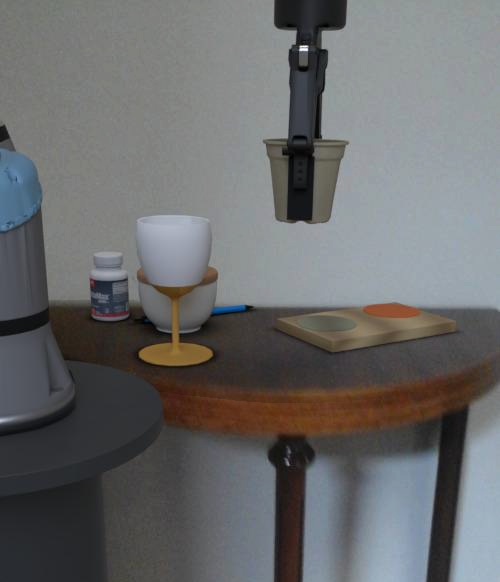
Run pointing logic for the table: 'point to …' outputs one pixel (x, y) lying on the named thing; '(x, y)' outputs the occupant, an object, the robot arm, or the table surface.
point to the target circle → (391, 310)
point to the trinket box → (179, 303)
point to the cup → (174, 275)
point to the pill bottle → (109, 287)
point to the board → (361, 328)
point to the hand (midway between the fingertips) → (303, 213)
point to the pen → (215, 311)
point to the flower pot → (324, 177)
